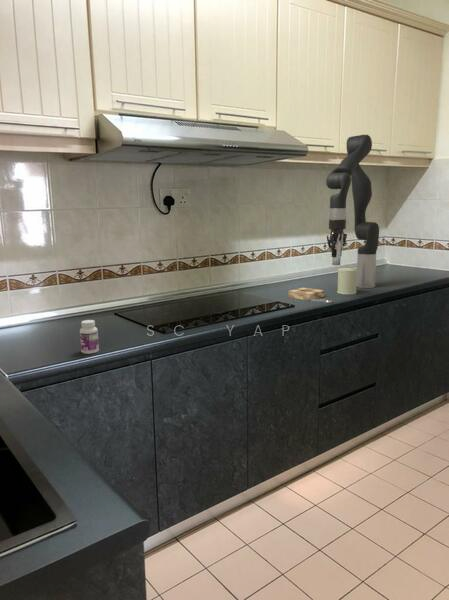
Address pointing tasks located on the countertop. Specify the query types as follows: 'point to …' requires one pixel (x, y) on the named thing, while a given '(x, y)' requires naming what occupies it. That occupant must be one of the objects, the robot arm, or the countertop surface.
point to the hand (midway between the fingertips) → (336, 256)
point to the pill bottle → (89, 337)
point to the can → (347, 281)
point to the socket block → (306, 293)
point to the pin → (337, 259)
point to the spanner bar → (320, 300)
